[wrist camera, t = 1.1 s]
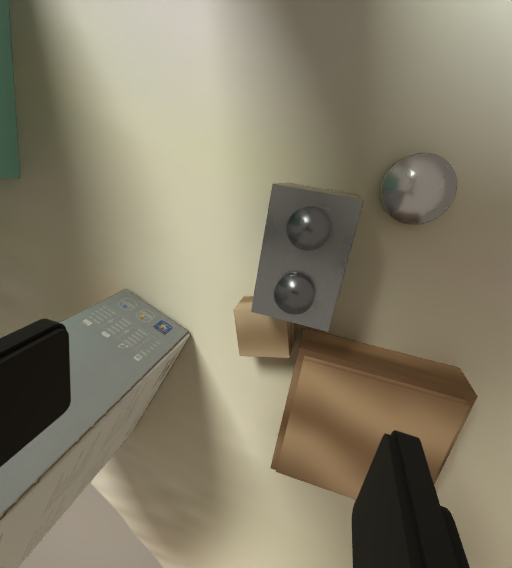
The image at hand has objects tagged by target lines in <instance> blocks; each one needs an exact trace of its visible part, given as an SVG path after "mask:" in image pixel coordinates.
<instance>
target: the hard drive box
mask: <svg viewBox="0 0 512 568" xmlns="http://www.w3.org/2000/svg"><path fill="white" fill-rule="evenodd" d="M60 323H61V324H63V325H64V326H65V327H66V331H68V333H69V353H70V386H71V403H70V406H69V408H68V409H67V411H66V412H65V413H64V414H63V415H62V416H60V417H59V418H58V419H57V420H56V421H55V422H53V423H52V424H51V425H50V426H49V427H47V428H46V429H45V430H44V431H43V432H41V433H40V434H39V435H38V436H37V437H36V438H34V439H33V440H32V441H31V442H30V443H28V444H27V445H26V446H25V447H24V448H23V449H21V450H20V451H19V452H18V453H17V454H15V455H14V456H13V457H12V458H11V459H10V460H8V461H7V462H6V463H5V464H4V465H2V466H1V467H0V568H19V566H20V565H21V564H22V563H23V562H24V561H25V559H26V558H27V557H28V556H29V554H30V553H31V552H32V551H33V550H34V549H35V547H36V546H37V545H38V544H39V543H40V541H41V540H42V539H43V538H44V537H45V536H46V534H47V533H48V532H49V531H50V530H51V528H52V527H53V526H54V525H55V524H56V522H57V521H58V520H59V519H60V518H61V516H62V515H63V514H64V513H65V512H66V510H67V509H68V508H69V507H70V506H71V505H72V503H73V502H74V501H75V500H76V498H78V496H79V495H80V494H81V493H82V491H83V490H84V489H85V488H86V487H87V486H88V484H89V483H90V482H91V481H92V480H93V478H94V477H95V476H96V475H97V474H98V472H99V471H100V470H101V469H102V468H103V466H104V465H105V464H106V463H107V462H108V461H109V459H110V458H111V457H112V456H113V455H114V453H115V452H116V451H117V450H118V449H119V447H120V446H121V445H122V444H123V443H124V441H125V440H126V439H127V438H128V436H129V435H130V434H131V433H132V431H133V430H134V428H135V427H136V425H137V423H138V421H139V420H140V418H141V417H142V415H143V413H144V412H145V410H146V408H147V407H148V405H149V403H150V401H151V400H152V398H153V396H154V395H155V393H156V392H157V390H158V388H159V387H160V385H161V383H162V381H163V380H164V378H165V376H166V375H167V373H168V371H169V370H170V368H171V367H172V365H173V363H174V362H175V360H176V358H177V357H178V355H179V353H180V351H181V350H182V348H183V346H184V345H185V343H186V341H187V340H188V338H189V336H190V334H189V333H188V330H186V329H185V328H183V327H182V326H180V325H179V324H177V323H176V322H174V321H173V320H171V319H170V318H169V317H167V316H165V315H164V314H162V313H161V312H160V311H158V310H157V309H155V308H154V307H152V306H151V305H149V304H148V303H146V302H145V301H143V300H142V299H140V298H139V297H137V296H136V295H134V294H133V293H131V292H130V291H128V290H126V289H125V290H123V291H121V292H119V293H117V294H115V295H113V296H111V297H109V298H107V299H105V300H103V301H101V302H99V303H97V304H95V305H93V306H91V307H89V308H87V309H85V310H83V311H81V312H79V313H77V314H75V315H73V316H71V317H69V318H68V319H66V320H64V321H62V322H60Z"/></svg>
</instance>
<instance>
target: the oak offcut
mask: <svg viewBox="0 0 512 568" xmlns="http://www.w3.org/2000/svg"><path fill="white" fill-rule="evenodd" d="M253 297H254V296H253ZM253 297H243V299H242V300H241V301H240V302H239V303H238V305H237V306H236V307H235V308H234V317H235V324H236V332H237V339H238V347H239V354H240V356H253V357H281V358H290V355H291V351H292V348H293V344H294V341H295V339H294V326H293V323H292V322H288V321H284V320H281V319H277V318H273V317H269V316H265V315H261V314H257V313H254V312H251V308H252V303H253Z"/></svg>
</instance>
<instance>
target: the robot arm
mask: <svg viewBox="0 0 512 568" xmlns="http://www.w3.org/2000/svg"><path fill="white" fill-rule="evenodd" d="M70 403H71V386H70V353H69V333H68V331H66V327H65V326H64V325H63V324H61V323H58V322H55V321H52V320H48V319H41V320H39V321H36V322H34V323H32V324H30V325H28V326H26V327H24V328H22V329H19V330H17V331H15V332H13V333H11V334H9V335H7V336H4V337H2V338H0V467H1V466H2V465H4V464H5V463H6V462H7V461H8V460H10V459H11V458H12V457H13V456H14V455H15V454H17V453H18V452H19V451H20V450H21V449H23V448H24V447H25V446H26V445H27V444H28V443H30V442H31V441H32V440H33V439H34V438H36V437H37V436H38V435H39V434H40V433H41V432H43V431H44V430H45V429H46V428H47V427H49V426H50V425H51V424H52V423H53V422H55V421H56V420H57V419H58V418H59V417H60V416H62V415H63V414H64V413H65V412H66V411H67V409H68V408H69V406H70ZM352 548H353V568H470V567H469V564H468V561H467V558H466V555H465V552H464V549H463V546H462V543H461V540H460V537H459V534H458V531H457V528H456V525H455V521H454V519H453V517H452V514H451V513H450V511H449V510H448V509H447V508H445V507H442V506H440V504H439V500H438V497H437V494H436V490H435V487H434V484H433V480H432V477H431V474H430V470H429V467H428V464H427V460H426V457H425V453H424V450H423V447H422V443H421V441H420V439H419V438H418V437H415V436H412V435H409V434H406V433H403V432H400V431H397V430H394V431H393V432H392V433H391V435H389V434H386V433H385V434H384V435H383V437H382V439H381V441H380V444H379V446H378V449H377V451H376V453H375V456H374V458H373V461H372V463H371V465H370V468H369V470H368V473H367V475H366V477H365V480H364V482H363V485H362V487H361V489H360V492H359V494H358V497H357V499H356V501H355V504H354V507H353V512H352Z"/></svg>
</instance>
